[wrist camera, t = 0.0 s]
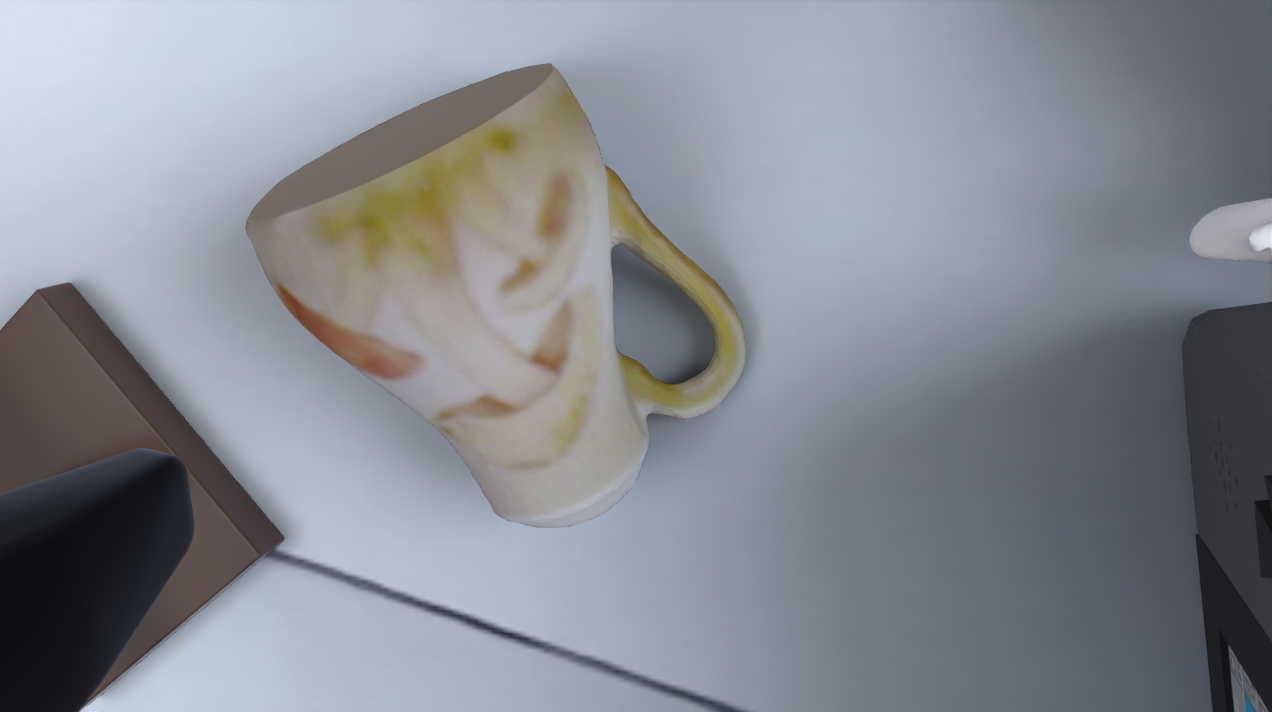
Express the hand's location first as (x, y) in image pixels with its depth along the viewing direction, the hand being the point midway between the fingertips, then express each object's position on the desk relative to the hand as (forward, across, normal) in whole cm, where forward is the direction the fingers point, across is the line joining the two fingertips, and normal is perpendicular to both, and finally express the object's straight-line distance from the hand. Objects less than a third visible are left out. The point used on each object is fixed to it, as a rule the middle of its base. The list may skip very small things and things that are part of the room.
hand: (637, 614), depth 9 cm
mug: (+15, +6, +5) cm, 17 cm away
